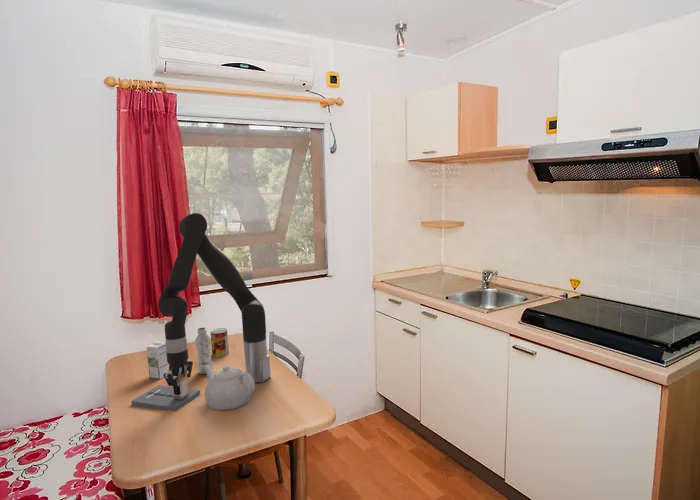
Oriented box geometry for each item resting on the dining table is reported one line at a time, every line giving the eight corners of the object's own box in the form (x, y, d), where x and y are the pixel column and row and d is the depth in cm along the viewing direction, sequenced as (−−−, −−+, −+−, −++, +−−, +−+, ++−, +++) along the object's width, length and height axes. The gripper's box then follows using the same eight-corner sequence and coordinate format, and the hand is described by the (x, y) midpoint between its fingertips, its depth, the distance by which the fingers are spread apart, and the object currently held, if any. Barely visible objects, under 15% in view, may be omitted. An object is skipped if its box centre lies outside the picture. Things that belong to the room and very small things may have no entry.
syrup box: (169, 373, 187) (166, 342, 185) (160, 379, 182) (156, 347, 180) (158, 372, 189) (155, 341, 187) (148, 378, 183) (145, 346, 181)
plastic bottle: (203, 377, 182) (199, 332, 180) (194, 373, 187) (190, 329, 184) (216, 371, 188) (213, 328, 185) (207, 368, 192) (203, 325, 189)
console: (200, 394, 167) (199, 390, 166) (175, 411, 154) (174, 407, 153) (159, 388, 173) (158, 384, 173) (131, 404, 160) (131, 400, 160)
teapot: (202, 417, 149) (199, 380, 147) (205, 394, 166) (202, 361, 165) (256, 408, 154) (254, 372, 152) (254, 387, 171) (251, 354, 170)
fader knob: (189, 394, 162) (188, 375, 161) (181, 399, 158) (180, 379, 157) (180, 393, 164) (178, 373, 163) (172, 398, 159) (170, 378, 158)
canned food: (212, 352, 212) (210, 329, 210) (228, 350, 214) (227, 327, 212) (212, 358, 204) (210, 334, 203) (229, 355, 206) (227, 332, 205)
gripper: (171, 356, 151) (176, 402, 153) (197, 343, 164) (201, 385, 166) (154, 354, 153) (159, 400, 155) (181, 341, 166) (185, 383, 168)
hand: (180, 392), depth 161 cm, fingers closed on fader knob, 3 cm apart
